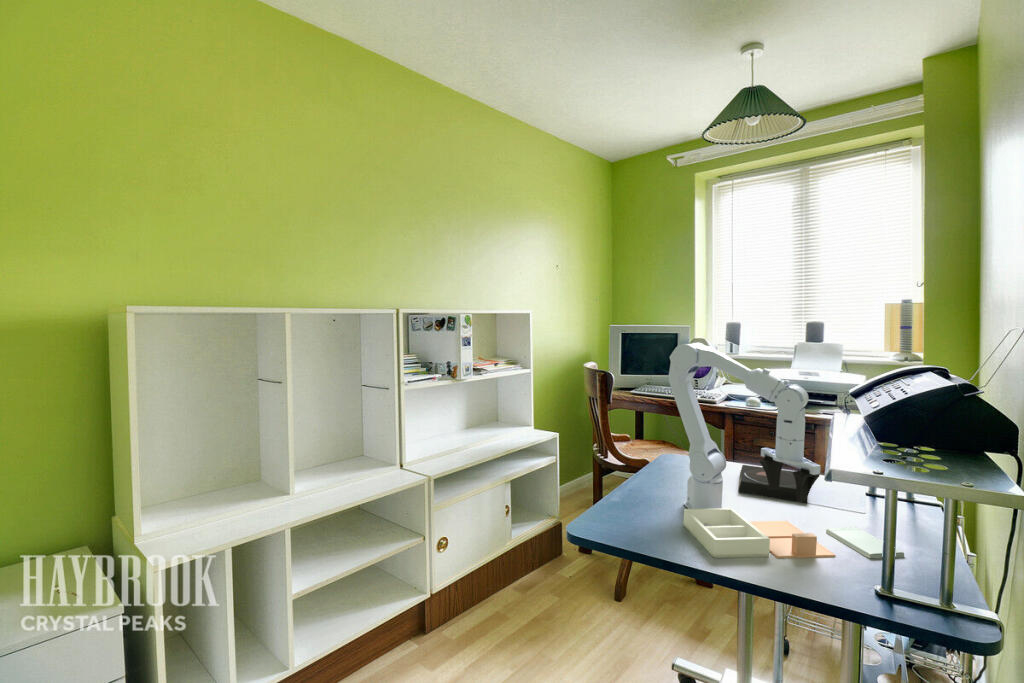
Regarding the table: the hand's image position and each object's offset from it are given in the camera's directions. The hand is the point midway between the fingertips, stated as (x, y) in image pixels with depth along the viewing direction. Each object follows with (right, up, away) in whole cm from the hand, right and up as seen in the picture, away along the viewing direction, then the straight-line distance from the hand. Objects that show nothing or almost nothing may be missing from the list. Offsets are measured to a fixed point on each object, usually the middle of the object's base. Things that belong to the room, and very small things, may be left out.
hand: (787, 495), depth 115 cm
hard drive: (+15, -11, -4) cm, 19 cm away
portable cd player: (+12, -8, +30) cm, 34 cm away
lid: (-2, -10, -2) cm, 10 cm away
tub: (-16, -10, -2) cm, 19 cm away
